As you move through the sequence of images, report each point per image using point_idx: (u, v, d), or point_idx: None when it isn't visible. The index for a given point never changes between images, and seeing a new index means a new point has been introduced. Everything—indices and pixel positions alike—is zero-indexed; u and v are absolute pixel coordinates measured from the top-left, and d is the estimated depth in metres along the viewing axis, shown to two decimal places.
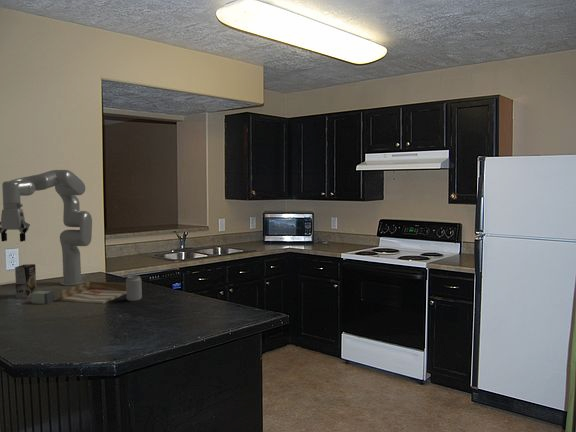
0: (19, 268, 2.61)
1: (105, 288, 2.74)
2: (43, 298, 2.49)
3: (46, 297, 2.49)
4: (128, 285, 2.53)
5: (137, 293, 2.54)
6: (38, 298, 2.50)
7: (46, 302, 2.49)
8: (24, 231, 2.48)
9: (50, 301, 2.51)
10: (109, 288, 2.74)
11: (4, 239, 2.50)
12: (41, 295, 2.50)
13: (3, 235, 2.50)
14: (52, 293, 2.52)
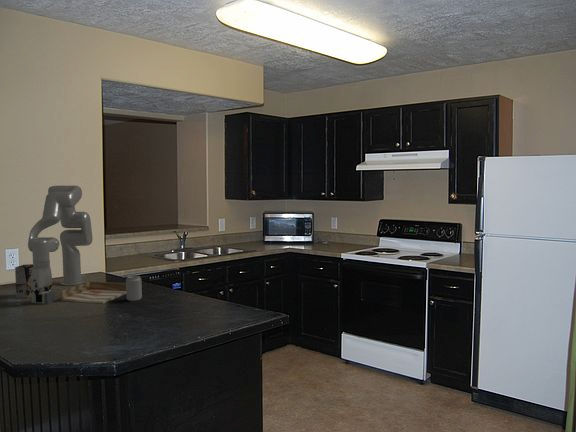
0: (19, 268, 2.61)
1: (105, 288, 2.74)
2: (43, 298, 2.49)
3: (46, 297, 2.49)
4: (128, 285, 2.53)
5: (137, 293, 2.54)
6: None
7: (46, 302, 2.49)
8: (50, 289, 2.56)
9: (50, 301, 2.51)
10: (109, 288, 2.74)
11: None
12: None
13: None
14: (52, 293, 2.52)
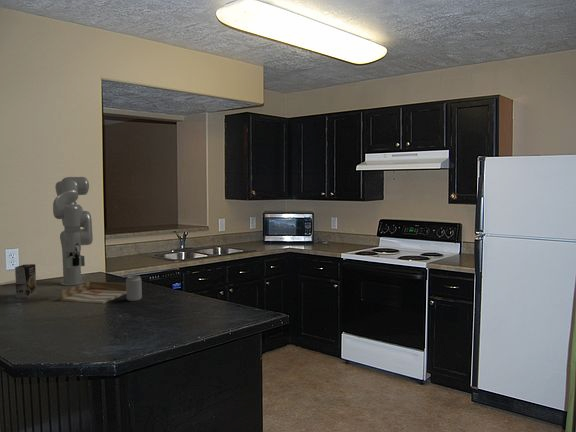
0: (19, 268, 2.61)
1: (105, 288, 2.74)
2: (80, 261, 2.61)
3: (83, 259, 2.62)
4: (128, 285, 2.53)
5: (137, 293, 2.54)
6: None
7: (83, 264, 2.62)
8: None
9: None
10: (109, 288, 2.74)
11: None
12: None
13: None
14: None
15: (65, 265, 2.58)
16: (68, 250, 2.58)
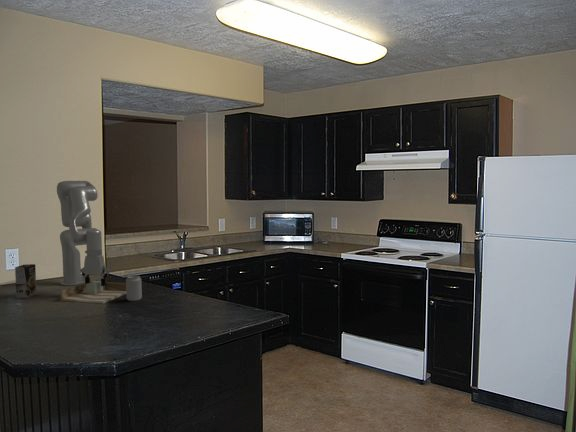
0: (19, 268, 2.61)
1: (105, 288, 2.74)
2: None
3: None
4: (128, 285, 2.53)
5: (137, 293, 2.54)
6: (99, 287, 2.68)
7: (104, 288, 2.73)
8: None
9: None
10: (109, 288, 2.74)
11: None
12: None
13: None
14: None
15: (91, 291, 2.65)
16: (93, 273, 2.66)
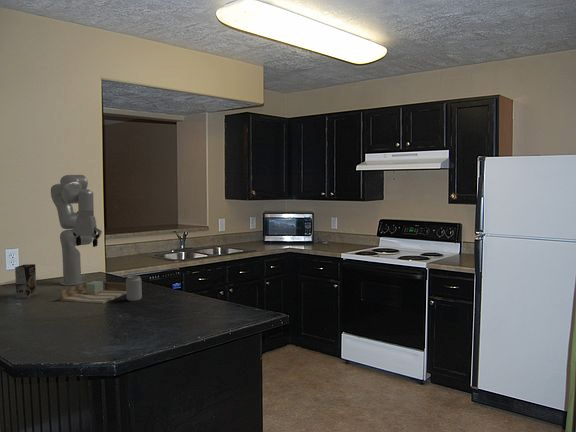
0: (19, 268, 2.61)
1: (105, 288, 2.74)
2: (102, 285, 2.71)
3: (104, 284, 2.72)
4: (128, 285, 2.53)
5: (137, 293, 2.54)
6: (99, 287, 2.68)
7: (104, 288, 2.73)
8: None
9: None
10: (109, 288, 2.74)
11: None
12: (101, 283, 2.70)
13: None
14: None
15: (91, 291, 2.65)
16: (85, 234, 2.66)
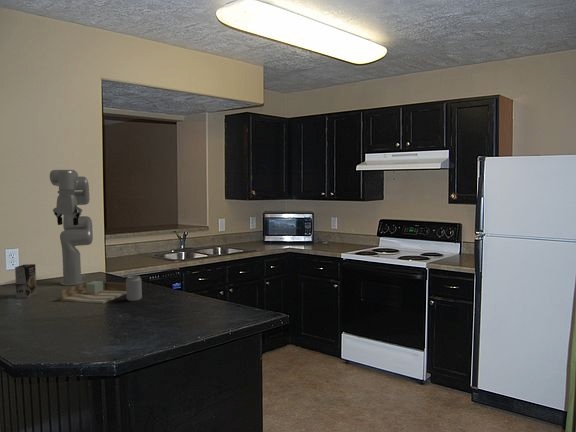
0: (19, 268, 2.61)
1: (105, 288, 2.74)
2: (102, 285, 2.71)
3: (104, 284, 2.72)
4: (128, 285, 2.53)
5: (137, 293, 2.54)
6: (99, 287, 2.68)
7: (104, 288, 2.73)
8: None
9: None
10: (109, 288, 2.74)
11: None
12: (101, 283, 2.70)
13: None
14: None
15: (91, 291, 2.65)
16: (65, 212, 2.70)
